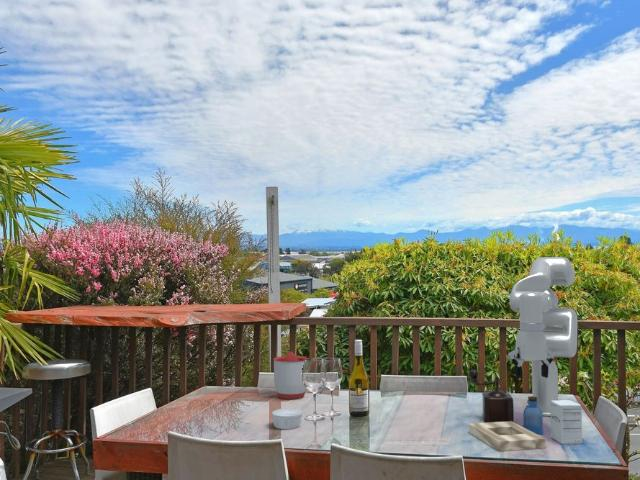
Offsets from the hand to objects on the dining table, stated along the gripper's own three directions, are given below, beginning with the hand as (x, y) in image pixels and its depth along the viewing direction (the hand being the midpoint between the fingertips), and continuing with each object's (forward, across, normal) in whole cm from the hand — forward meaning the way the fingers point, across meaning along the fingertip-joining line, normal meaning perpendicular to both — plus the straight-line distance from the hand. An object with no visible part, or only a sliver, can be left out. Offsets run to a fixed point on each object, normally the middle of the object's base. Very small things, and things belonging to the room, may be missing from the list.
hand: (532, 377), depth 214 cm
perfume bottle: (+19, 0, -1) cm, 19 cm away
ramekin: (+20, +82, -26) cm, 89 cm away
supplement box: (+19, -6, +11) cm, 23 cm away
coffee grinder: (+19, +6, -19) cm, 27 cm away
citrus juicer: (+19, +74, -74) cm, 106 cm away
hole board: (+19, +14, +6) cm, 24 cm away
